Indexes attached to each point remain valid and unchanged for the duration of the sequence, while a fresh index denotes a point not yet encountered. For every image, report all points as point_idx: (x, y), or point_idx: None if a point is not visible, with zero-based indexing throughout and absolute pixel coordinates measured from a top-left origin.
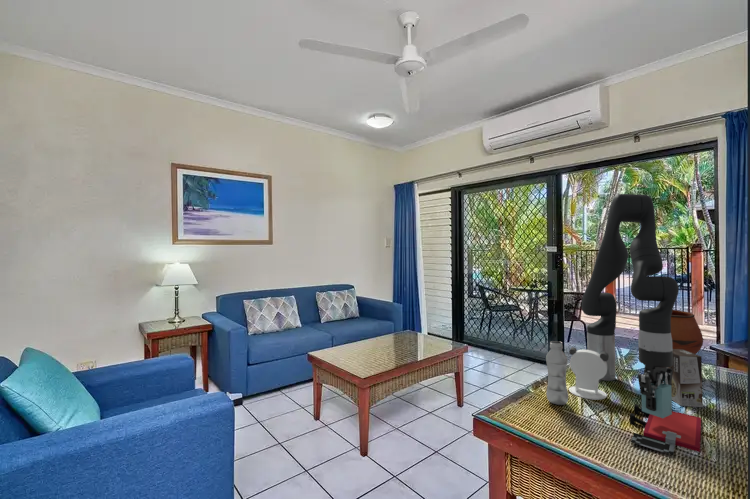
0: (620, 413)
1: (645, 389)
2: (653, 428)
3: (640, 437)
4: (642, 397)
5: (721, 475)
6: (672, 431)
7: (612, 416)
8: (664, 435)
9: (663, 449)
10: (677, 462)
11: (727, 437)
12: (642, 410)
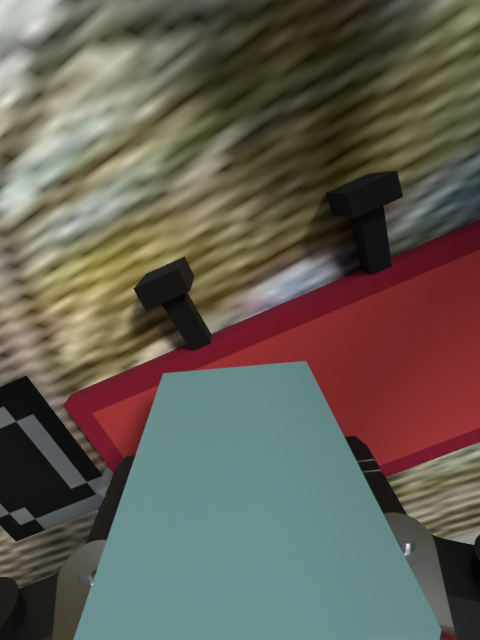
0: (240, 144)
1: (59, 636)
2: None
3: (11, 417)
4: (138, 459)
5: None
6: None
7: (135, 149)
8: None
9: (19, 508)
10: (6, 549)
11: (421, 521)
12: (161, 381)
